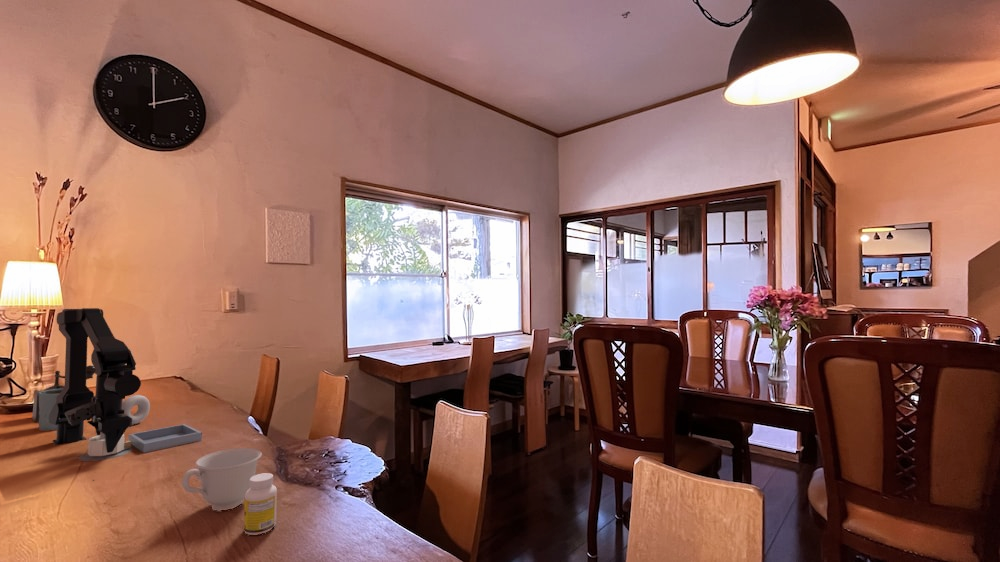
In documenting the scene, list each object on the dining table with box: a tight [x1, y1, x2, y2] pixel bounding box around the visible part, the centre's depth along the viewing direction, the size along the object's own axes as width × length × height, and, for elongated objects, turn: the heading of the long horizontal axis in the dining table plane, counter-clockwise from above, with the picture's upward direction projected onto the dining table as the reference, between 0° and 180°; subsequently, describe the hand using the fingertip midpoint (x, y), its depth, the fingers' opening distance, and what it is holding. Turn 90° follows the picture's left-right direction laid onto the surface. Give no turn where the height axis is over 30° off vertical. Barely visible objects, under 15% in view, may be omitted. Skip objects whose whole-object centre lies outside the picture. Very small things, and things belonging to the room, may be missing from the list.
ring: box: [87, 433, 132, 456], centre depth 120 cm, size 7×9×4 cm
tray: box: [128, 423, 203, 454], centre depth 131 cm, size 14×14×3 cm
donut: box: [119, 394, 151, 426], centre depth 149 cm, size 10×3×10 cm, turn 168°
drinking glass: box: [38, 388, 64, 432], centre depth 145 cm, size 10×10×12 cm
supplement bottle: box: [243, 472, 278, 534], centre depth 83 cm, size 5×5×10 cm
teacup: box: [181, 447, 263, 510], centre depth 91 cm, size 12×15×10 cm
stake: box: [77, 432, 133, 462], centre depth 120 cm, size 11×11×7 cm
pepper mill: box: [31, 364, 96, 423], centre depth 159 cm, size 16×11×18 cm
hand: (106, 449), depth 120 cm, fingers closed on ring, 7 cm apart
